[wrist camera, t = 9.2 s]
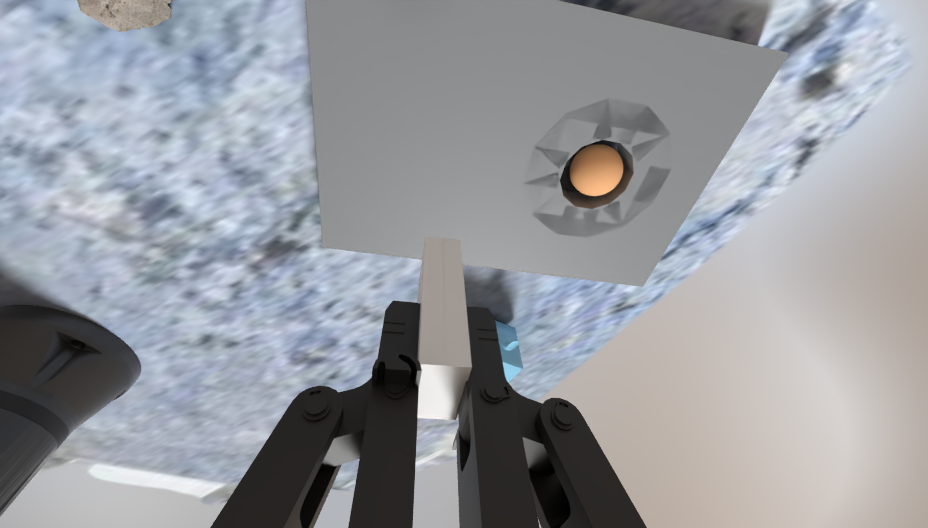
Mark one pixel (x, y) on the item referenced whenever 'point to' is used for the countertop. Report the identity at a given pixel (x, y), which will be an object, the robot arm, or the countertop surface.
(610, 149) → the ball
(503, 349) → the light blue teapot
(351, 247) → the plate
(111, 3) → the stone
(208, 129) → the countertop surface
